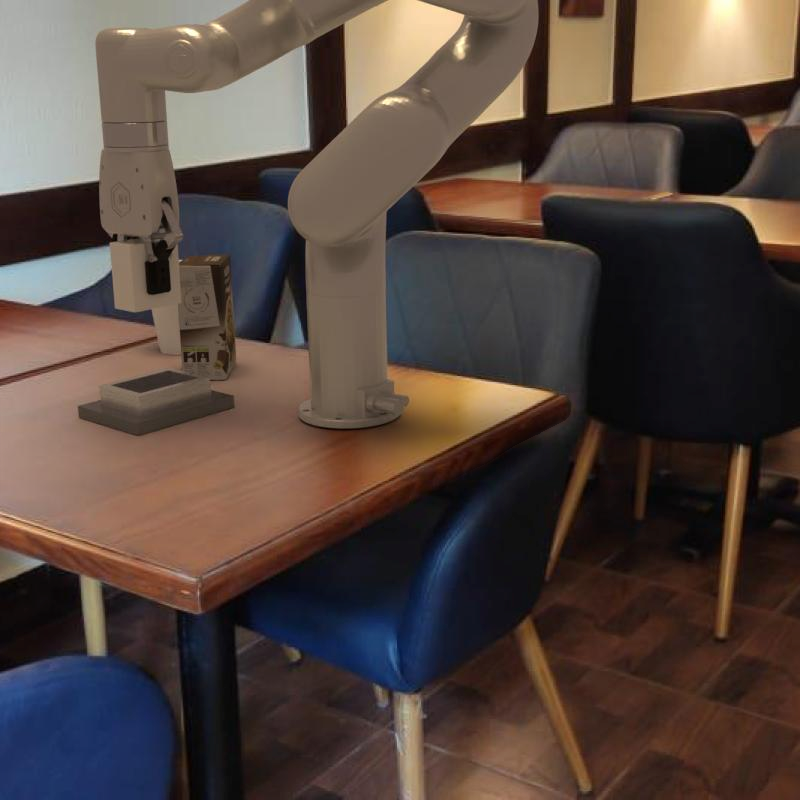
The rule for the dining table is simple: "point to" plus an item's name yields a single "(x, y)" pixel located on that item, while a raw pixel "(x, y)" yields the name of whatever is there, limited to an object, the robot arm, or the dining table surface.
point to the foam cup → (168, 329)
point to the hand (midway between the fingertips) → (147, 289)
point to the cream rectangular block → (139, 277)
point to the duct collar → (155, 401)
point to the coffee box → (207, 316)
